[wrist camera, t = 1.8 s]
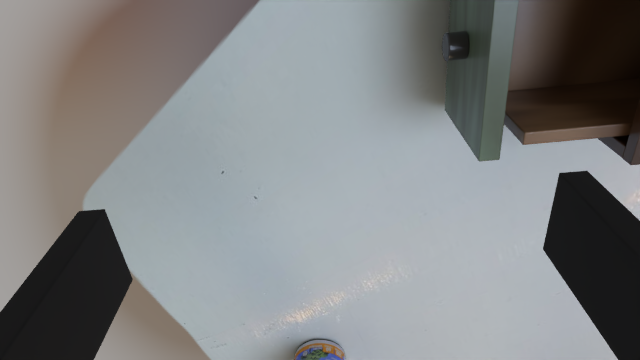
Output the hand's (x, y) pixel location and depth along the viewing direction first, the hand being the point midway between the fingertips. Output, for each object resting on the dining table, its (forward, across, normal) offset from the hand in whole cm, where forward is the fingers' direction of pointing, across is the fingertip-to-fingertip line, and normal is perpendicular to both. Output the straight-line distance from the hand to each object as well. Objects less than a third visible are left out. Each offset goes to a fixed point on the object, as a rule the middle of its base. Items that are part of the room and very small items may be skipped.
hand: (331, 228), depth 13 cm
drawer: (+20, +15, +1) cm, 25 cm away
